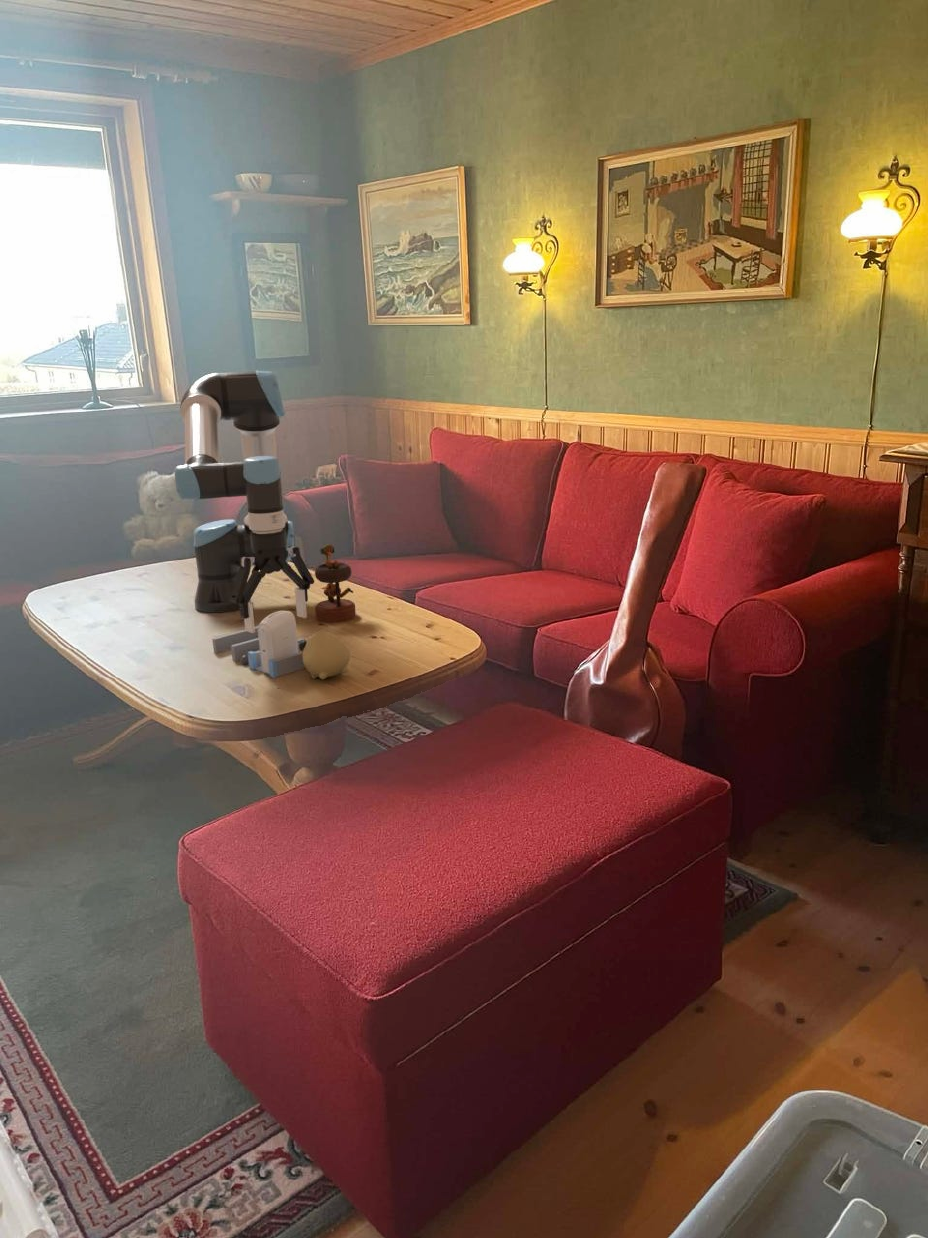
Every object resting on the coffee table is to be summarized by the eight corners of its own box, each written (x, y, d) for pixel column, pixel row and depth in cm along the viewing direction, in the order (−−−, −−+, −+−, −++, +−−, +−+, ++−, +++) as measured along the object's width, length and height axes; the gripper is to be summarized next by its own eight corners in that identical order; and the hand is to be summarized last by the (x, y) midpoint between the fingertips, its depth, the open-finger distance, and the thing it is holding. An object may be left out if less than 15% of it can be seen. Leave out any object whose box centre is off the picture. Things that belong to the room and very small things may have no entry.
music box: (303, 615, 247) (303, 541, 242) (340, 611, 254) (340, 538, 249) (332, 628, 235) (332, 550, 231) (369, 623, 242) (370, 546, 237)
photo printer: (275, 674, 203) (269, 620, 200) (259, 672, 205) (253, 618, 201) (302, 659, 212) (297, 607, 208) (286, 657, 214) (281, 605, 210)
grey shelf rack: (211, 653, 220) (209, 637, 219) (268, 637, 230) (267, 622, 229) (273, 678, 202) (272, 661, 201) (332, 659, 212) (331, 643, 211)
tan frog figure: (334, 664, 209) (331, 619, 206) (359, 679, 200) (355, 632, 197) (294, 673, 204) (289, 627, 201) (316, 689, 195) (312, 641, 191)
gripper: (225, 543, 189) (236, 641, 195) (325, 522, 205) (332, 614, 212) (206, 537, 194) (217, 634, 200) (305, 518, 210) (312, 607, 217)
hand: (276, 624), depth 206 cm, fingers open, 13 cm apart
